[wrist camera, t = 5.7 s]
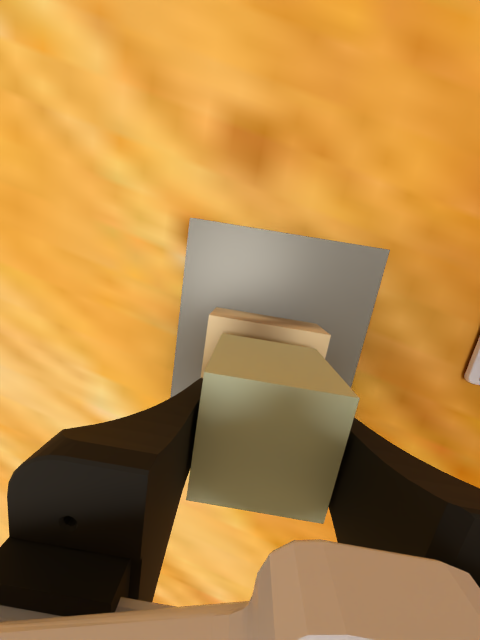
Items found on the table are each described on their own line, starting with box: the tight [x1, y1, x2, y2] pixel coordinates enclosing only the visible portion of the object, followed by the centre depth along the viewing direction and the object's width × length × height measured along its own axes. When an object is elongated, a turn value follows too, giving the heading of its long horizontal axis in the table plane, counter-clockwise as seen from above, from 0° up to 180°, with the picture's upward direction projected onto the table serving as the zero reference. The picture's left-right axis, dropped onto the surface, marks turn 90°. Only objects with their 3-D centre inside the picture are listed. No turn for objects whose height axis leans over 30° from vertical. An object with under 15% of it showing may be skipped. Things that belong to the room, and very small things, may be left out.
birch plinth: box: [200, 307, 331, 378], centre depth 15 cm, size 7×7×3 cm
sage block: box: [186, 333, 359, 524], centre depth 10 cm, size 5×5×5 cm
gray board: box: [171, 218, 390, 397], centre depth 17 cm, size 13×14×1 cm
